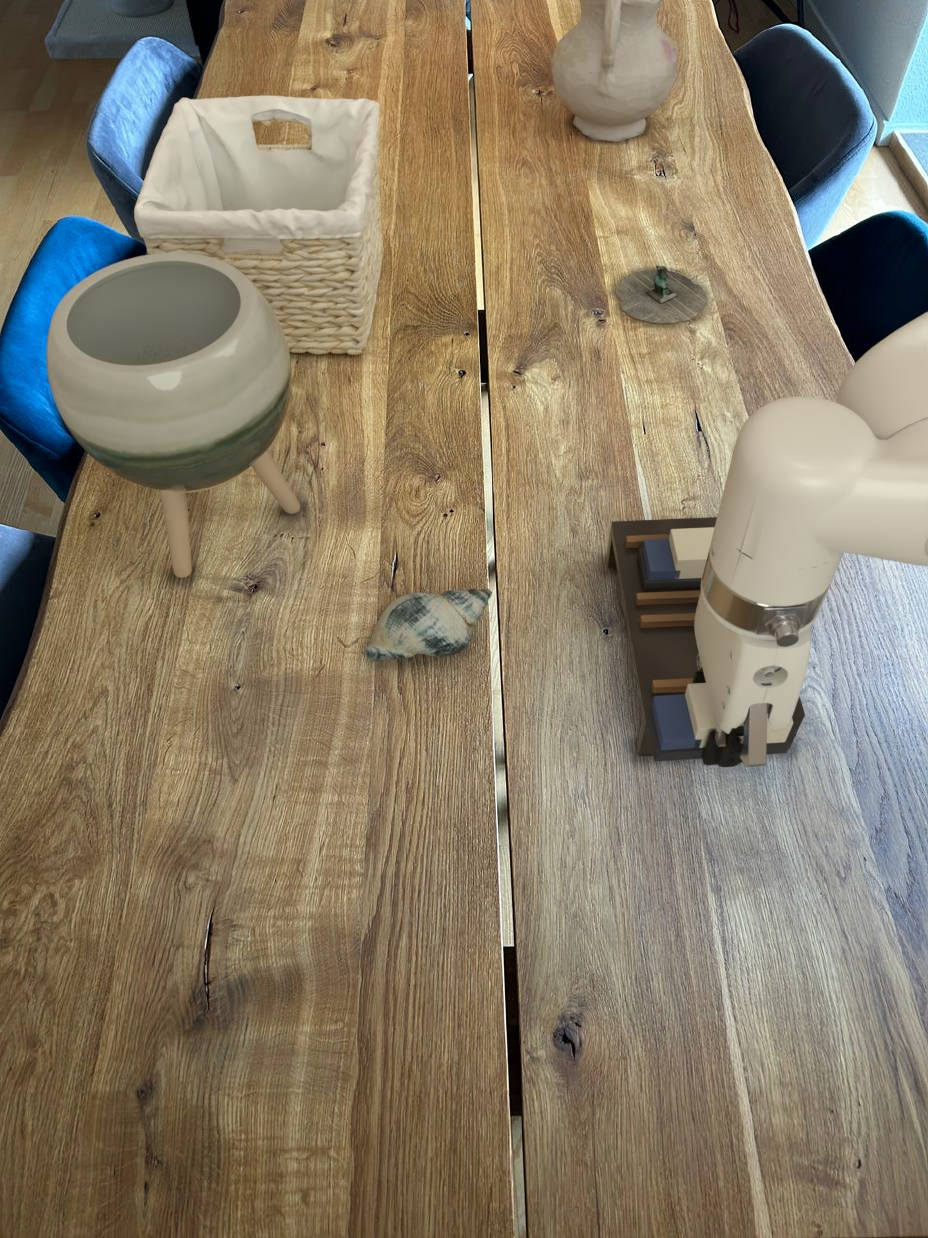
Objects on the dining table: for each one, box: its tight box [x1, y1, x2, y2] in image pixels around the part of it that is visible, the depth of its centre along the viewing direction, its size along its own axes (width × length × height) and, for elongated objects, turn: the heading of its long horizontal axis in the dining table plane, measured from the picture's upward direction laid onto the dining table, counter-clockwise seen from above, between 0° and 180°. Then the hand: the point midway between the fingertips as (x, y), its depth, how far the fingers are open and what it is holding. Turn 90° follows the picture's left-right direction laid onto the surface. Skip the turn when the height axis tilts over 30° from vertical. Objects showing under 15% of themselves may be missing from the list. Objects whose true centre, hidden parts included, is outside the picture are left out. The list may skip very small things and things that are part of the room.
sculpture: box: [615, 265, 707, 325], centre depth 136 cm, size 12×9×8 cm
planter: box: [45, 253, 301, 579], centre depth 102 cm, size 22×22×28 cm
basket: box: [133, 94, 385, 356], centre depth 128 cm, size 27×27×22 cm
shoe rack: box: [605, 516, 806, 757], centre depth 98 cm, size 14×24×7 cm, turn 2°
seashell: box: [364, 588, 493, 663], centre depth 100 cm, size 6×8×12 cm
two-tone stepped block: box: [638, 527, 715, 590], centre depth 97 cm, size 10×4×4 cm, turn 92°
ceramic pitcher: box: [551, 0, 679, 143], centre depth 155 cm, size 22×20×25 cm
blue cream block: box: [645, 683, 793, 763], centre depth 76 cm, size 10×4×4 cm, turn 93°
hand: (716, 729), depth 78 cm, fingers closed on blue cream block, 4 cm apart
